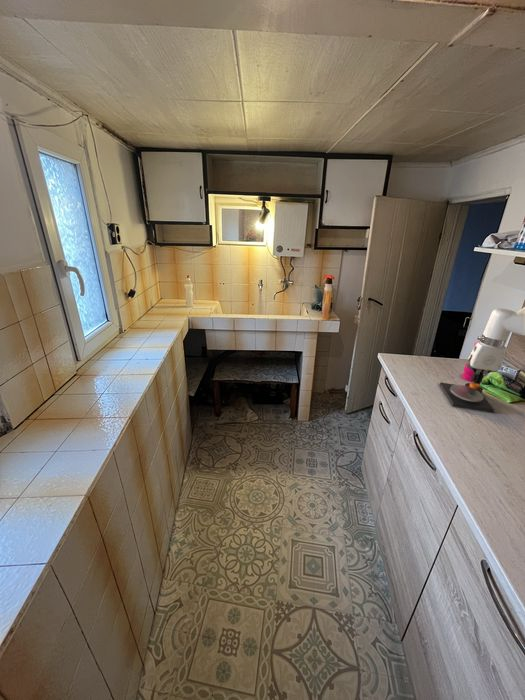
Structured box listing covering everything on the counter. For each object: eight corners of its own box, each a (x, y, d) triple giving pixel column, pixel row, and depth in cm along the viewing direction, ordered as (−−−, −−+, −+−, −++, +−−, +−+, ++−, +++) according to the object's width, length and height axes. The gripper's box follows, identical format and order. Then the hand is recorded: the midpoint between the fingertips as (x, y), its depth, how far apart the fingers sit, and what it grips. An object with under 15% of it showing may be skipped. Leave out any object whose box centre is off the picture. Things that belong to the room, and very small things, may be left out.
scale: (476, 390, 120) (479, 384, 118) (494, 413, 105) (498, 406, 104) (439, 385, 123) (441, 379, 121) (452, 406, 108) (454, 399, 107)
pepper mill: (460, 379, 128) (475, 338, 120) (460, 373, 134) (475, 333, 125) (479, 384, 124) (497, 343, 116) (479, 377, 130) (496, 337, 122)
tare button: (476, 386, 118) (477, 382, 117) (479, 390, 115) (481, 386, 114) (467, 385, 118) (469, 381, 117) (471, 389, 115) (472, 385, 115)
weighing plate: (475, 388, 115) (476, 387, 115) (488, 404, 105) (488, 402, 105) (446, 384, 117) (446, 383, 117) (455, 399, 108) (456, 397, 107)
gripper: (475, 342, 106) (458, 383, 114) (521, 347, 103) (500, 390, 111) (467, 335, 112) (452, 374, 120) (510, 340, 109) (491, 380, 117)
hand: (475, 382), depth 115 cm, fingers closed
